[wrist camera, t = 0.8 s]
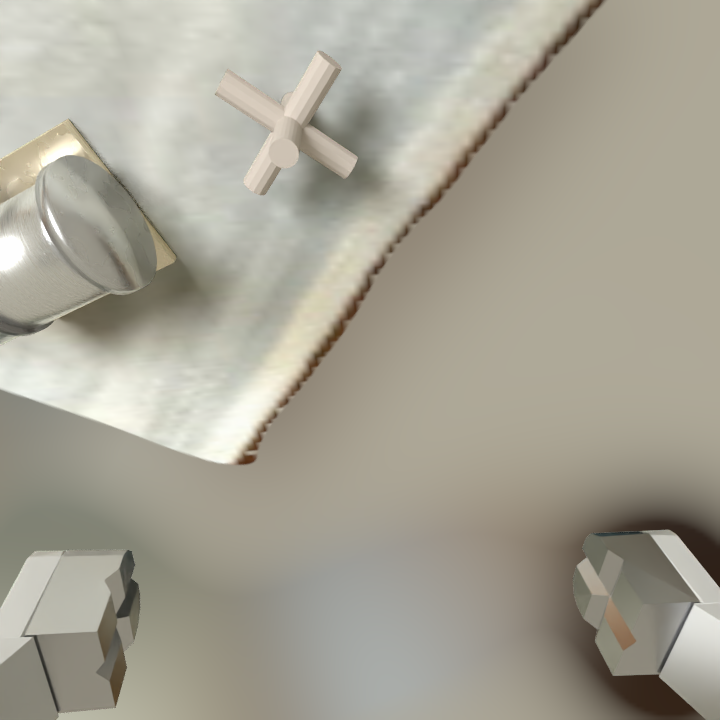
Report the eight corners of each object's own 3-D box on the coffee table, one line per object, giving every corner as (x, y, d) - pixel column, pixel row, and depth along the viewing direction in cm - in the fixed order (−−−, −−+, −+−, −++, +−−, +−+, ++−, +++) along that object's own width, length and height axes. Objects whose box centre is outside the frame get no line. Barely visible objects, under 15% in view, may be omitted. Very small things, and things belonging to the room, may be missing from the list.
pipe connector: (387, 85, 42) (398, 131, 34) (315, 193, 47) (311, 254, 39) (266, -6, 38) (248, 22, 30) (202, 123, 43) (172, 175, 35)
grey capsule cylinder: (70, 117, 42) (6, 173, 34) (179, 255, 50) (147, 328, 42) (-66, 198, 46) (-154, 266, 38) (54, 315, 54) (3, 393, 45)
